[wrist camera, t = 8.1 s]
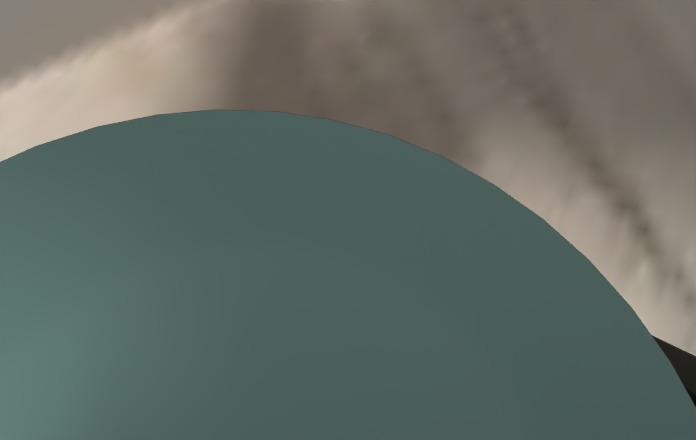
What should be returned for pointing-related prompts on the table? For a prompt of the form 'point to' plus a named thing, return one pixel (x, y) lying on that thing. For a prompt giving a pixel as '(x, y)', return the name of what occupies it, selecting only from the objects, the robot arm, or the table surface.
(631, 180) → the table surface
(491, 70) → the table surface
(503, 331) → the teal smooth upright cylinder
